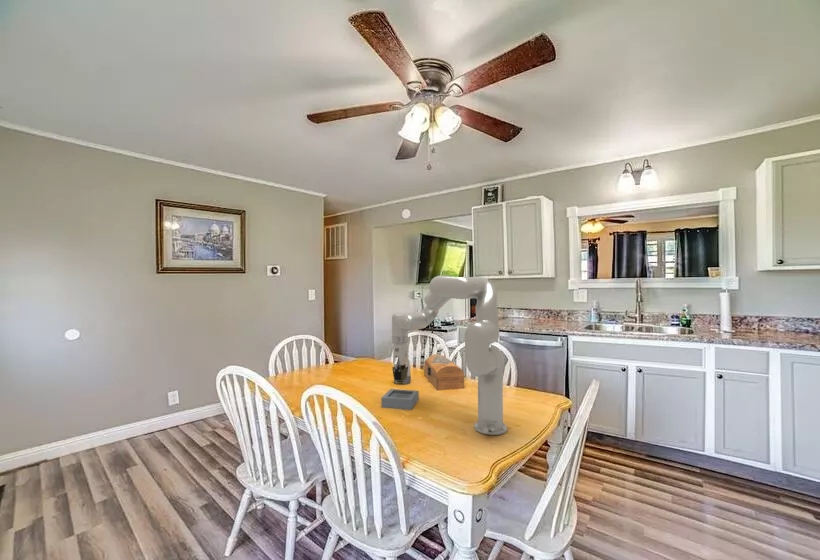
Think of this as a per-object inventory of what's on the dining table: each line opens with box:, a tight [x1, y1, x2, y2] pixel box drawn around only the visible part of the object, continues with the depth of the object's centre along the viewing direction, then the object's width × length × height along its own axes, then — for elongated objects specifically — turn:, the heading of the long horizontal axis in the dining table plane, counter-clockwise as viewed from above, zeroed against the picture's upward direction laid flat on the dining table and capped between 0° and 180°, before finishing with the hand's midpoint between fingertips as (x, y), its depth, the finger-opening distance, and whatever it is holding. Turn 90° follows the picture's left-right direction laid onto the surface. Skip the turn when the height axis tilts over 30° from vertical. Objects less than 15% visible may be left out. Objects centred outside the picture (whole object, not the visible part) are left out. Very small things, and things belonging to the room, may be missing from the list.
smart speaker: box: [393, 360, 412, 386], centre depth 205 cm, size 10×9×14 cm
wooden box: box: [423, 354, 465, 391], centre depth 206 cm, size 30×16×14 cm, turn 10°
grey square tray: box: [380, 388, 420, 411], centre depth 173 cm, size 14×14×5 cm
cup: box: [392, 365, 408, 386], centre depth 173 cm, size 8×7×8 cm
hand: (400, 377), depth 173 cm, fingers closed on cup, 7 cm apart
